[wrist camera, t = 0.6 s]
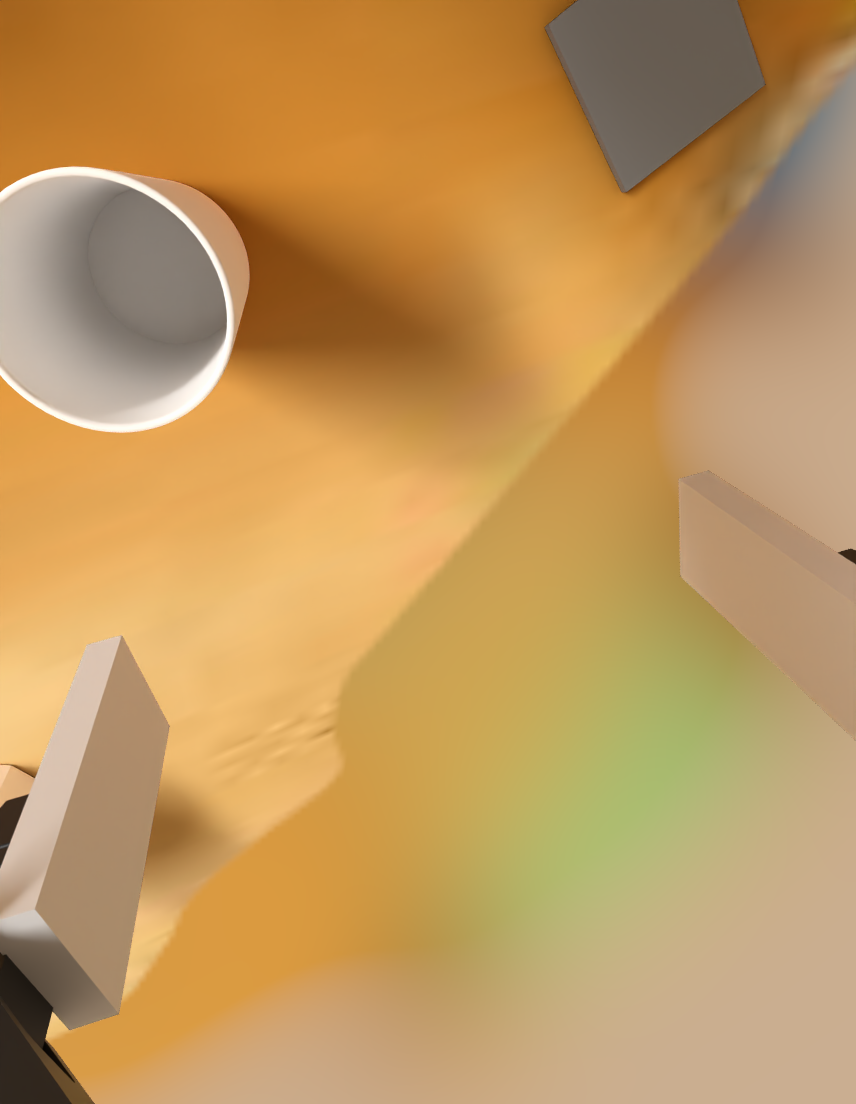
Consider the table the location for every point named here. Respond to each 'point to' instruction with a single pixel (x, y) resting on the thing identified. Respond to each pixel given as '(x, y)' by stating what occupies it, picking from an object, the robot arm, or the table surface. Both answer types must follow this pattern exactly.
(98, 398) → the cup
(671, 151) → the mat
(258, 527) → the table surface
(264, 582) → the table surface
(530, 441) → the table surface
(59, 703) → the table surface
